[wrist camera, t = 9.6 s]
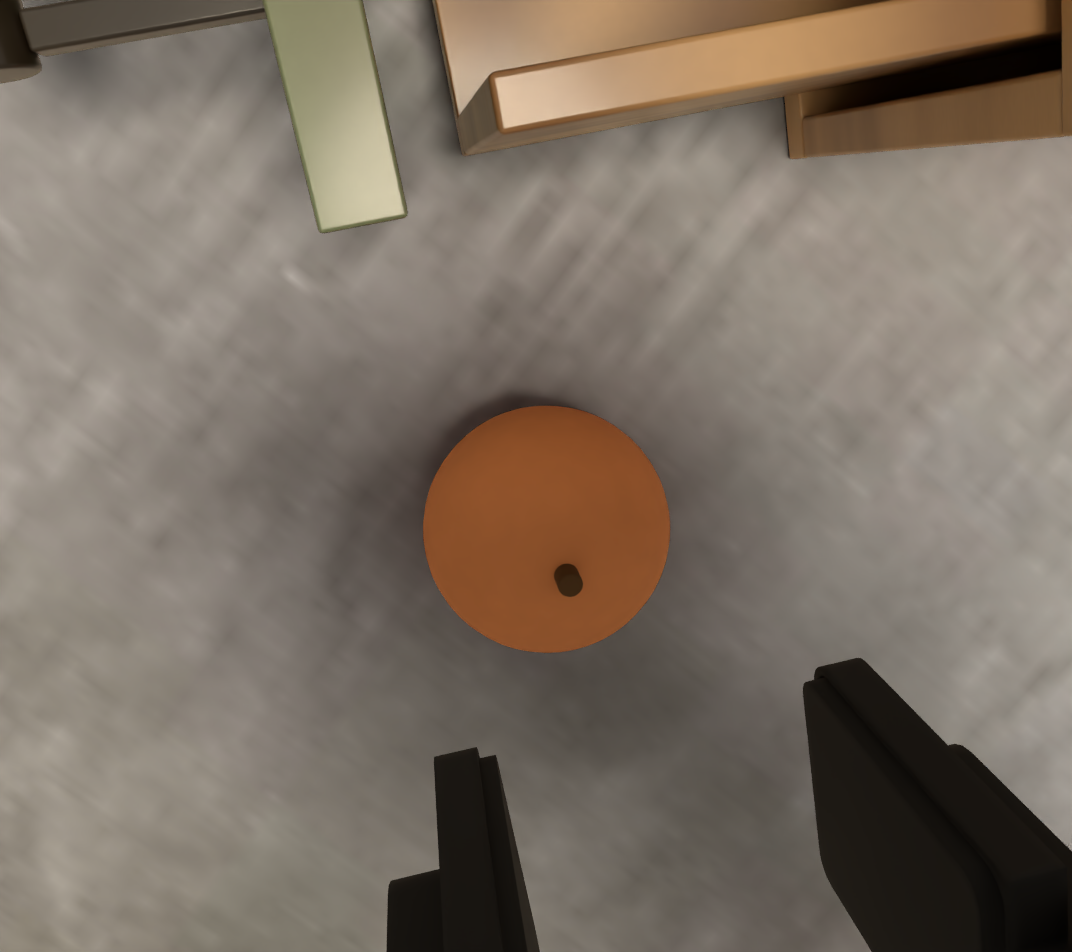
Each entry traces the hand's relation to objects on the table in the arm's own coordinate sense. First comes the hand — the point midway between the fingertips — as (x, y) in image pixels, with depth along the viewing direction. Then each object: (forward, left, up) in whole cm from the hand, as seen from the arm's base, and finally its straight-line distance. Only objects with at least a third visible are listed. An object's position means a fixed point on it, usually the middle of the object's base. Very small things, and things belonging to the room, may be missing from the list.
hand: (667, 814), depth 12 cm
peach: (0, 0, -10) cm, 10 cm away
